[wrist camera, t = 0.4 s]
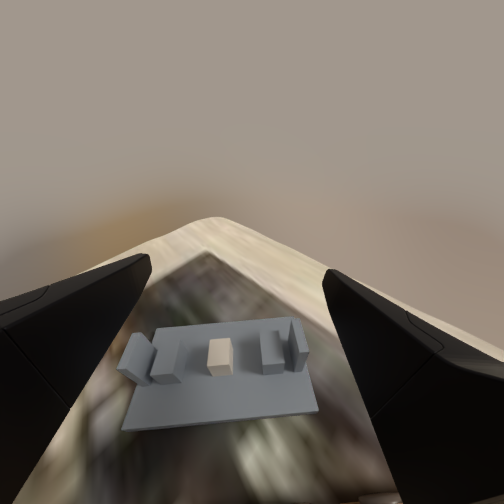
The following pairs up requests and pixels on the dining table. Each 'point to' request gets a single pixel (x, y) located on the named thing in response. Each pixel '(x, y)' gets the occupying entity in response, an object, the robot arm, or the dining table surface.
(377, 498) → the brown rectangular block
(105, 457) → the dining table surface
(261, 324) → the display cradle
